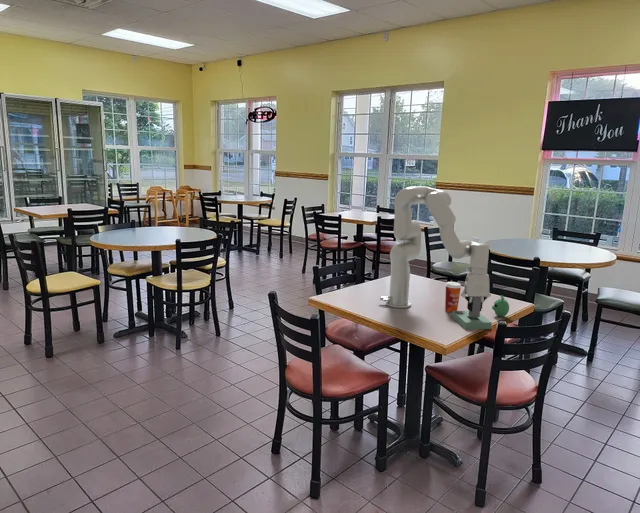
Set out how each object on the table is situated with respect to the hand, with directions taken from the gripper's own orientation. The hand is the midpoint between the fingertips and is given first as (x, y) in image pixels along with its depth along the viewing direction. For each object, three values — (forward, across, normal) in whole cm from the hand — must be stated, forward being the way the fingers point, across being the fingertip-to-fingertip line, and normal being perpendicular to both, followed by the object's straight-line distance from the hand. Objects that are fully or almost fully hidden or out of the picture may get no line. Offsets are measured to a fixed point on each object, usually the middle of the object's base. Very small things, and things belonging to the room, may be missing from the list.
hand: (474, 310), depth 214 cm
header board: (+7, 0, +2) cm, 7 cm away
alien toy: (+7, +18, +11) cm, 22 cm away
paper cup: (+7, -3, +19) cm, 21 cm away
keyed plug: (+3, 0, 0) cm, 3 cm away
